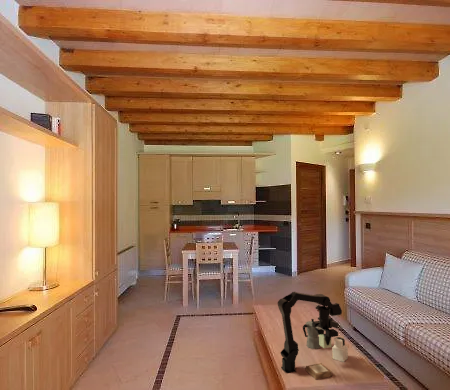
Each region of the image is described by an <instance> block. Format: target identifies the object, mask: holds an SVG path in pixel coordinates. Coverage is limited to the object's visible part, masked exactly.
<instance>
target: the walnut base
mask: <svg viewBox="0 0 450 390" xmlns="http://www.w3.org/2000/svg"><path fill="white" fill-rule="evenodd" d="M305 371H306V372H307V373H308V374H309V375H310V376H311V377H312V378H314V379H315V380H320V379H324V378H331V377H333V371H331V370H330V369H329V368H328V367H327V366H325V365H324V364H323V363H322V362H321V363H315V364H310V365H305Z"/></svg>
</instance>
